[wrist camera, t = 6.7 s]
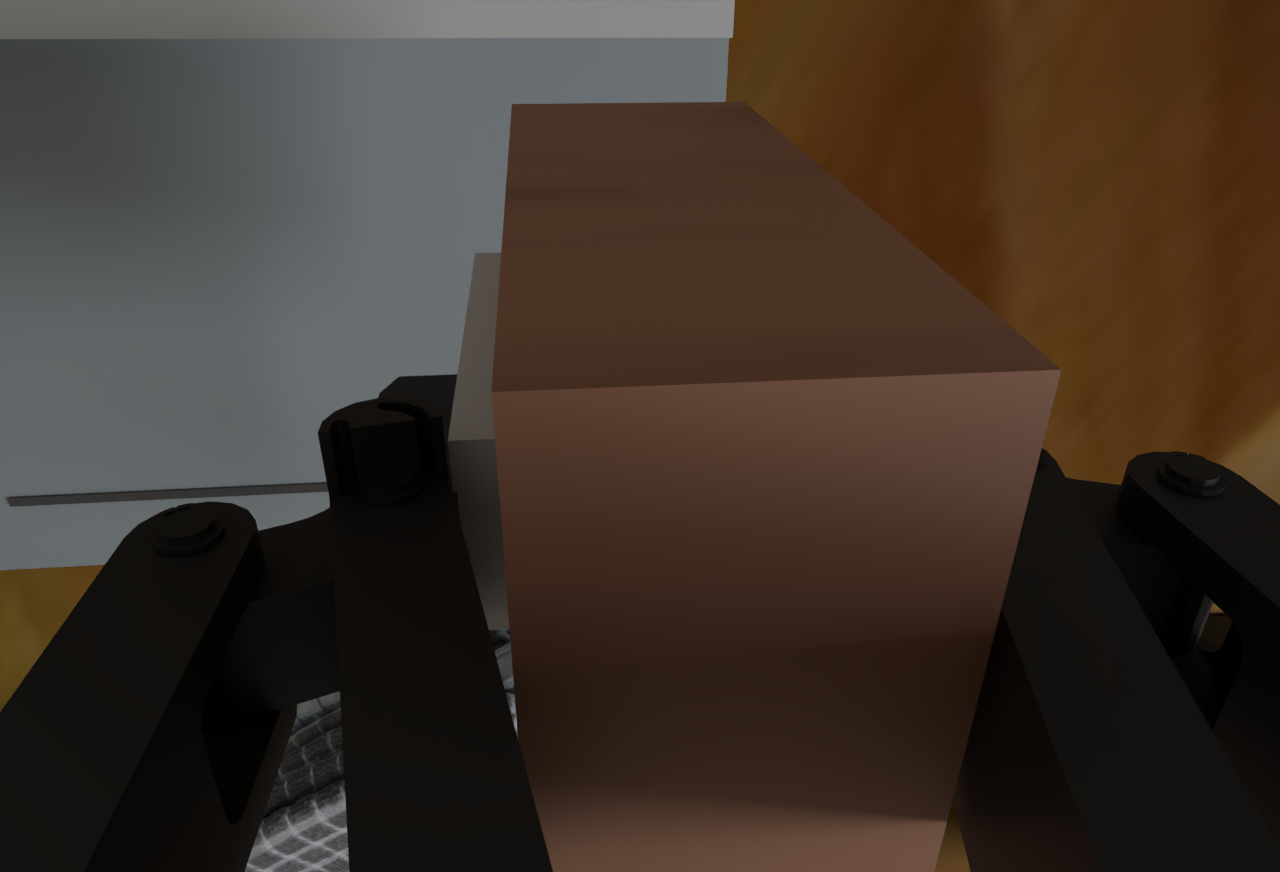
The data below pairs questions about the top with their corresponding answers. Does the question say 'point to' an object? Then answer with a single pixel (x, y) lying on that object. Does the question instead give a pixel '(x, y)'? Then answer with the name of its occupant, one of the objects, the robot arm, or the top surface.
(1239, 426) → the top surface
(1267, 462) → the top surface
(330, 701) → the towel
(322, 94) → the board
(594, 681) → the brown blocky piece
